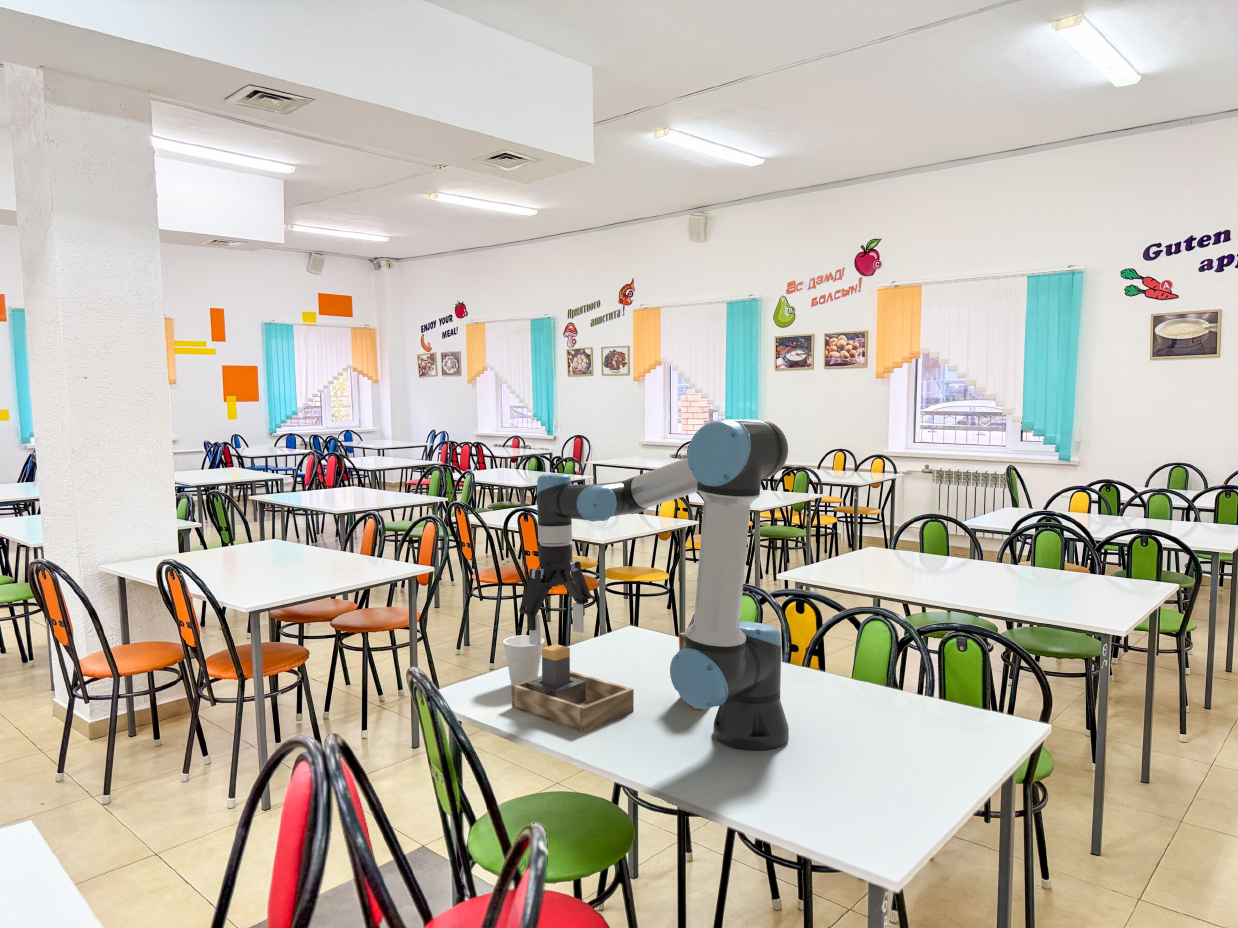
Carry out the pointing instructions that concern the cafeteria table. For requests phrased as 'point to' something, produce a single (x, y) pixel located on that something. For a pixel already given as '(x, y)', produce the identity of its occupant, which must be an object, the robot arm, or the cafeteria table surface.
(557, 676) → the connector
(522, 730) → the cafeteria table surface
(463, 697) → the cafeteria table surface
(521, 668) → the cup
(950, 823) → the cafeteria table surface
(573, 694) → the frame
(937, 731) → the cafeteria table surface
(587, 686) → the tray
